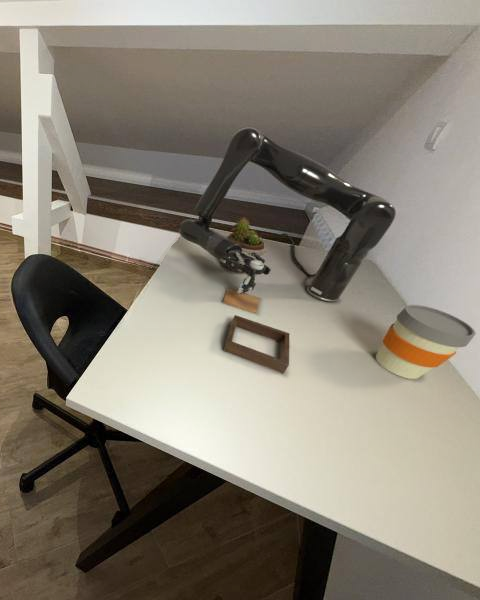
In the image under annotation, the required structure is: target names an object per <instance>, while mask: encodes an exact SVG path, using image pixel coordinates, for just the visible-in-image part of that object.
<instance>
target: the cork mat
mask: <svg viewBox="0 0 480 600" xmlns="http://www.w3.org/2000/svg"><path fill="white" fill-rule="evenodd" d="M237 291H238V290H236V289H232V288H229V287H228V288H227V289H226V292H225V295H224V297H223V300H222V303H223V304H226V305H229V306H232V307H235V308H239V309H240V310H245V311H247V312H250V313H253V314H257V313H258V307H259V301H260V297H258V296H255V295H251V294H249V293H246V292H245V293H242V292H241V293H238V292H237Z"/></svg>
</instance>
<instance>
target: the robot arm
mask: <svg viewBox="0 0 480 600" xmlns="http://www.w3.org/2000/svg"><path fill="white" fill-rule="evenodd" d="M249 162H250V163H252V164H255V165H257V166H259V167H260V168H262V169H264V170H266V171H267V172H268V173H269V174H270V175H271V176H273V177H274V178H275V179H276V180H277V181H279V182H280V183H281V184H282V185H284V186H285V187H286V188H288V189H290V190H291V191H293V192H295V193H297V194H299V195H300V196H303V197H305V198H307V199H310V200H313V201H316V202H318V203H322V204H325V205H327V206H330V207H331V208H333V209H335V210H336V211H338V212H339V213H341V214H342V215H343V216H345V217H346V218H347V219H348V220H349V223H348V224H347V226H346V227H345V229H344V231H343V232H342V233H341V235H339V236H337V237H336V238H335V240H334V242H333V244H332V245H331V247H330V249H329V251H328V252H327V254H326V256H325V257H324V259H323V261H322V263H321V264H320V266H319V268H318V270H316V272H315V273H313V274H311V273H309V272H308V271H307V270H306V269H305V268H304V266H303V265H302V264H301V262H299V260H298V259H297V256H296V245H295V242H294V240H293V239H292V238H291V236H290V235H289V234H288V233H285V232H284V233H282V234H280V236H286V237H287V238H288V239H289V241H290V242H291V245H292V257H293V259H294V261H295V263H296V265H298V266H299V268H300V269H301V270H302V272H303V273H304V274H305V275H306V276H307V277H310V278H312V280H311V282H310V283H309V285H308V286H307V288H306V292H307V294H308V295H310V296H311V297H314V298H315V299H317V300H319V301H323V302H327V303H337V302H338V301H339V300H340V297H341V296H342V294H343V293H344V291H345V290H346V289H347V287H348V285H349V283H350V282H351V280H352V279H353V277H354V276H355V274H356V273H357V272H358V270H359V269H360V267H361V265H362V264H363V262H364V261H365V259H366V258H367V256H368V255H369V254H370V251H372V250H373V249H374V248H375V247H377V245H378V244H379V243H380V242H381V240H382V239H383V237H384V236H385V234H386V233H387V231H388V230H389V229H390V227H391V226H392V224H393V222H394V220H395V219H396V214H397V211H396V208H395V207H394V205H393V204H392V203H390V202H389V201H388V200H387V199H386V198H385V197H381V196H379V195H376V194H373V193H371V192H369V191H366V190H363V189H361V188H359V187H357V186H355V185H352V184H351V183H349V182H348V181H346V180H345V179H344V178H342V177H341V176H340V175H338V174H337V173H336V172H334V171H333V170H331V169H330V168H329V167H327V166H325V165H323V164H321V163H320V162H317V161H316V160H315V159H312V158H310V157H308V156H306V155H303V154H302V153H299V152H296V151H295V150H291V149H289V148H286V147H284V146H281V145H280V144H279V143H277V142H276V141H274V140H272V139H271V138H269V136H267V135H265V134H264V133H263V132H261V131H260V130H259V129H258V128H256V127H254V126H245V127H243V128H241V129H238V130H237V131H236V132H234V134H233V135H232V137H231V138H230V140H229V143H228V147H227V149H226V152H225V154H224V157H223V160H222V162H221V164H220V166H219V167H218V170H217V172H215V175H214V176H213V178H212V179H211V181H210V183H209V184H208V185H207V187H206V189H205V190H204V192H203V194H202V195H201V197H200V199H199V200H198V202H197V204H196V206H195V207H194V213H195V214H196V216H198V219H197V220H196V219H190V218H189V219H185V220H183V221H182V222H180V225H179V226H178V232H179V235H180V236H181V237H182V238H183V239H184V240H186V241H188V242H190V243H193V244H195V245H198V246H199V247H200V248H201V249H203V250H205V251H206V252H208V253H209V255H210V256H212V257H214V258H215V259H217V260H218V261H219V264H220V265H222V266H223V265H224V266H226V267H228V268H229V269H231V270H233V271H236V270H238V271H243V272H244V273H243V274H246V276H247V275H249V276H250V277H253V276H254V274H255V272H256V271H255V270H254V269H253V268H251V267H250V266H248V265H246V264H247V263H248V262H249V260H250V262H251V261H253V260H256V261H260V262H262V263H263V264H264V266H265V267H266V269H265V271H263V273H262V274H264V275H266V276H267V275H269V274H270V272H271V270H272V268H271V267H269V266H267V265H266V264H265V262H266V260H265V259H264V258H263V257H262V256H259V255H257V254H256V253H254V252H252V254H251V255H249V254H247V253H246V252H242V249H241V246H240V245H239V244H238V243H236V242H234V241H233V240H231V239H229V238H228V237H227V236H226V235H223V234H221V233H220V232H218V231H216V230H214V229H212V228H211V225H212V222H213V218H214V215H215V214H216V212H217V210H218V209H219V207H220V205H221V204H222V203H223V201H224V199H225V198H226V196H227V194H228V192H229V190H230V189H231V187H232V185H233V183H234V181H235V180H236V179H237V177H238V176H239V174H240V173H241V172H242V171H243V169H244V168H245V166H246V165H247V164H248V163H249ZM231 264H232V265H233V267H232V266H231ZM224 266H223V267H224ZM233 271H232V272H233Z"/></svg>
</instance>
